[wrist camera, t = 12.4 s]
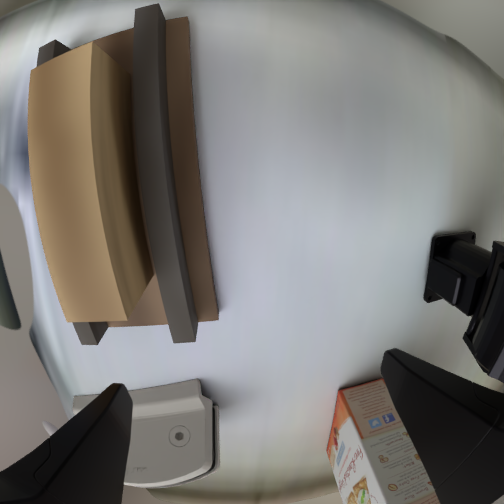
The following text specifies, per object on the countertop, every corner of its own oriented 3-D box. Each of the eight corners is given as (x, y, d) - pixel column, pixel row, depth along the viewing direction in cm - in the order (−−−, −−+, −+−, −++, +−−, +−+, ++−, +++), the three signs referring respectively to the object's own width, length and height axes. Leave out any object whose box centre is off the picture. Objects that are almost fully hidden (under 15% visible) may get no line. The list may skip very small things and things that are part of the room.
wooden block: (129, 74, 14) (92, 41, 8) (153, 275, 18) (127, 320, 12) (79, 90, 14) (30, 70, 8) (104, 280, 18) (67, 322, 12)
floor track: (189, 22, 14) (182, -2, 10) (218, 313, 21) (217, 339, 17) (48, 66, 13) (24, 56, 10) (84, 321, 20) (67, 344, 17)
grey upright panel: (201, 377, 22) (215, 483, 15) (219, 395, 25) (235, 484, 18) (71, 396, 23) (66, 474, 15) (97, 412, 26) (95, 483, 18)
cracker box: (333, 389, 25) (408, 564, 5) (384, 374, 25) (475, 523, 5) (322, 451, 29) (362, 573, 9) (362, 440, 29) (412, 552, 9)
